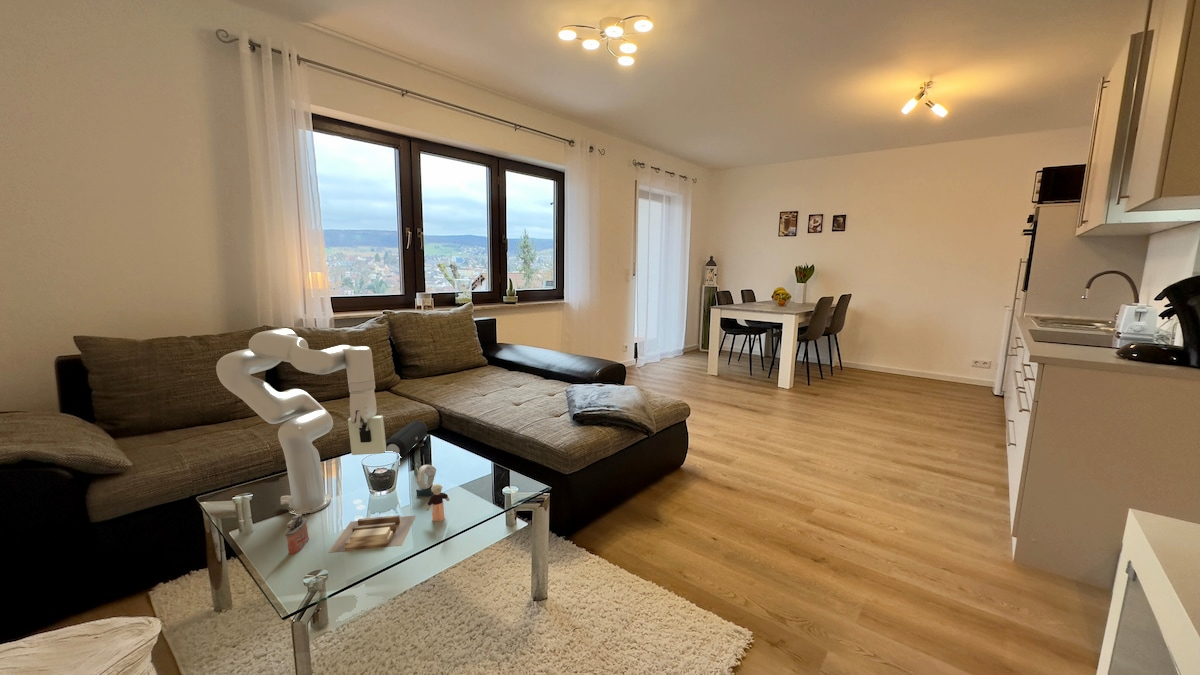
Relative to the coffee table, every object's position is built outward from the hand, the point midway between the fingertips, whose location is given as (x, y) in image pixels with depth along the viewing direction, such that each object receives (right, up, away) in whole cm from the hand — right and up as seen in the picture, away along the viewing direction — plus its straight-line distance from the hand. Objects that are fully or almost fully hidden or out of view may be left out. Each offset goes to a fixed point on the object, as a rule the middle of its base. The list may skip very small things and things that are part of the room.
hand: (367, 439), depth 151 cm
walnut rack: (+8, -27, -11) cm, 30 cm away
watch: (+15, -23, +13) cm, 30 cm away
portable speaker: (-10, -17, +54) cm, 57 cm away
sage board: (0, -4, +1) cm, 4 cm away
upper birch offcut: (+9, -25, -15) cm, 31 cm away
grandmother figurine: (+25, -25, -4) cm, 35 cm away
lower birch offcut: (+8, -26, -15) cm, 32 cm away
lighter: (-12, -29, -16) cm, 35 cm away
